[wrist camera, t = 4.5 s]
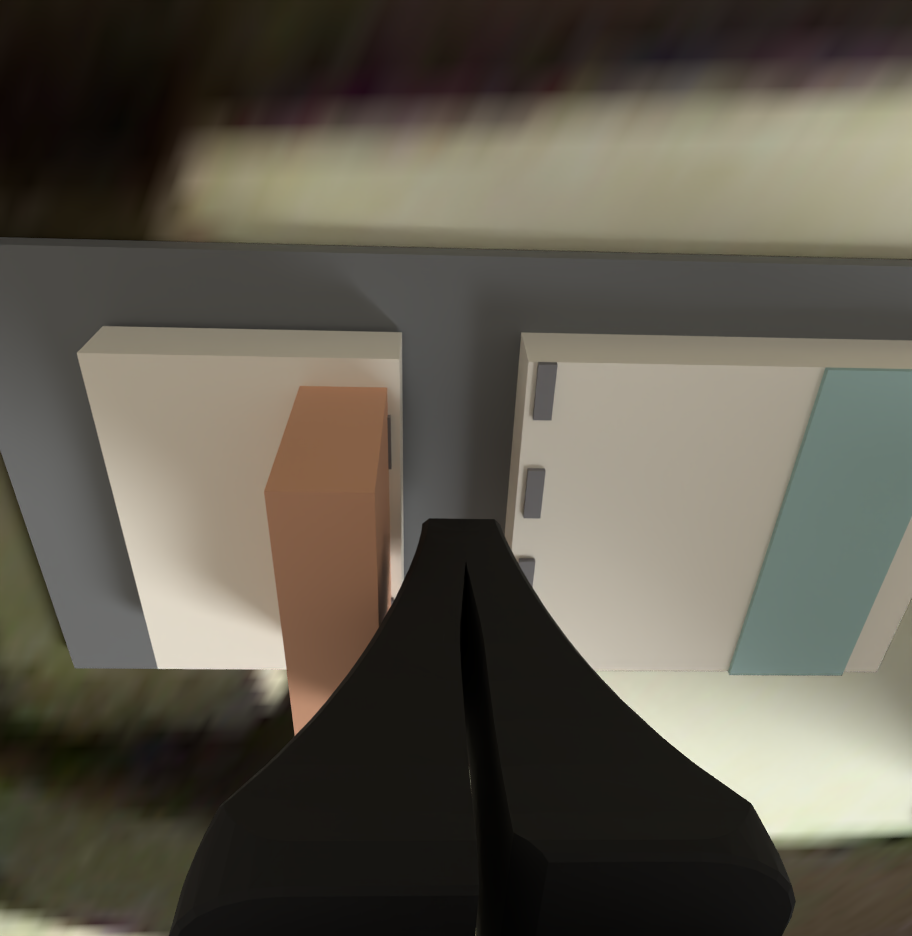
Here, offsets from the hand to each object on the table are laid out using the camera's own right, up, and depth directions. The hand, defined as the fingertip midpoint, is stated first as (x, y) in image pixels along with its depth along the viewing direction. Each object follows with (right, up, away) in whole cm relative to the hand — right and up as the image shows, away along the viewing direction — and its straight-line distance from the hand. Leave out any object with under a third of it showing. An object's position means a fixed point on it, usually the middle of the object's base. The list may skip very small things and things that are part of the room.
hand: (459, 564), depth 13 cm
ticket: (+5, +1, +2) cm, 6 cm away
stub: (-4, +1, +2) cm, 4 cm away
